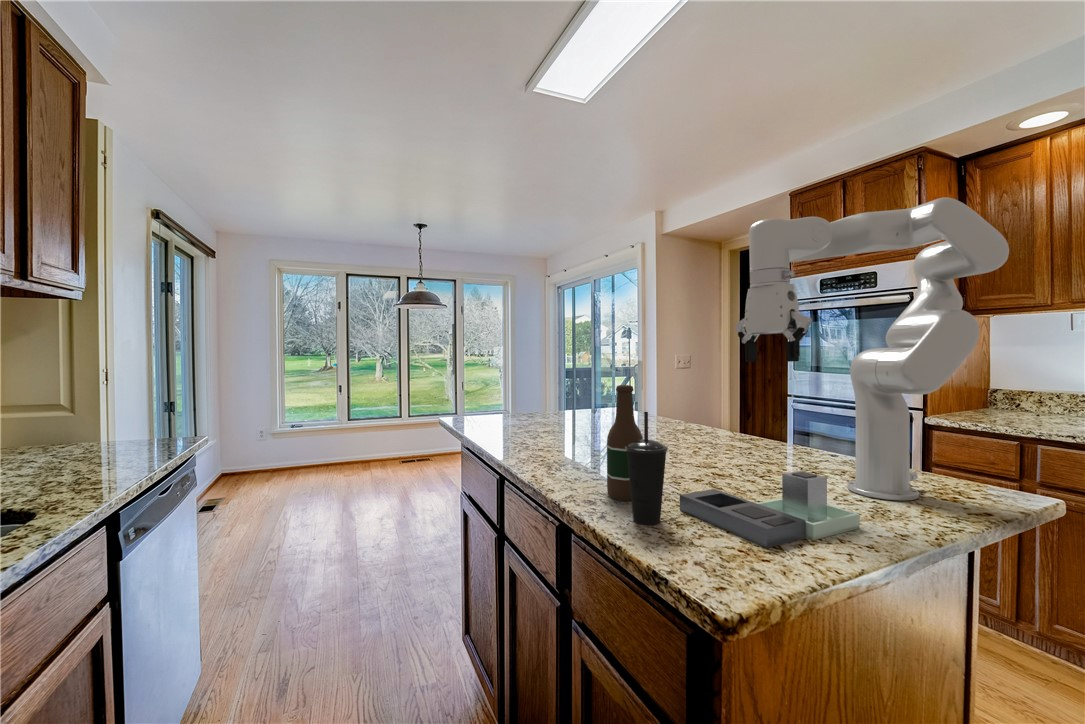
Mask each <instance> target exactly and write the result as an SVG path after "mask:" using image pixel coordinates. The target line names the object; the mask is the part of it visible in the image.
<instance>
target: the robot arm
mask: <svg viewBox="0 0 1085 724" xmlns="http://www.w3.org/2000/svg"><path fill="white" fill-rule="evenodd" d="M942 240H945V241H942ZM748 241H749V243H748V244H749V245H748V247H749V283H750V284H749V288H747V293H746V299H745V309H744V312H745V313H744V318H742V319H741V320H740V321H738V322H737V323H735V324H734V329H735V331H736V333H737V337H738V338H739V339H740V340H741V343H742V344H744V361H745V362H747V363H748V362H757V361H758V343H757V342H756V341H757V340H758V338H759V336H760V335H777V334H783V336H784V337H786V339H787V340H788V341H786V342H785V361H786V362H788V363H789V362H799V360H800V355H801V353H800V352H801V349H800V343H801V342H802V341H803V339H804V337H805V336H806V334H807V333H808V331H809V328H810V326H811V324H812V322H813V318H812V317H809V316H807V315H805V314H802V313H800V307H799V301H798V300H799V299H798V295H797V291H796V288H795V284H793V283H790V282H791V278H793V277H794V276H795V271H794V270H791V269H790V263H796V262H805V261H812V260H821V259H826V258H827V259H828V258H834V257H845V256H853V255H857V254H865V253H874V252H875V253H876V252H884V251H894V250H904V249H905V250H906V249H912V248H918V247H920V246H924V245H928V244H931V245H929V246H927V247H925V248H923V249H922V250H920V252H918V254H917V255H916V257H915V258H914V262H913V266H912V267H913V274H914V277H915V280H916V281H915V282H916V284H917V285H916V286H917V293H916V295H915V297H914V298H913V300H912V301H911V302H910V303H909V305H907V307H906V308H905V309H904V310H903V311H902V312H901V313H900V315H899V316H898V317H897V318H896V319H895V320H894V321H893V322H892V324H891V325H890V327H889V328H888V330H887V331H886V335H885V342H886V345H887V347H877V348H876V347H875V348H870V349H869V348H868V349H866V350H863V351H861V352H859V353H858V354H857V355H855V357H854V358H853V359H852V361H851V363H850V367H849V373H850V374H849V375H850V379H851V384H852V389H853V394H854V403H855V479H853V480H850V481H847V485H846V486H847V489H848V490H849V491H851V492H853V493H855V494H857V495H858V494H859V495H861V496H865V497H869V498H875V499H880V500H881V499H882V500H886V501H887V500H889V501H914V500H917V499H919V498H920V492H919V490H917V489H916V488H913V487H912V486H911V487H910V482H911V481H912V482H913V481H916V480H918V478H919V477H918V475H917V473H916V472H915V471H911V470H910V468H911V467H910V460H911V459H910V457H911V456H910V453H911V452H910V449H911V448H910V447H911V446H910V435H911V434H910V430H911V429H910V427H911V426H910V425H911V424H910V423H911V421H910V419H911V417H910V410H909V406H908V403H907V401H906V399H905V397H904V395H903V394H905V395H928V394H931V393H933V392H936V391H937V390H939V389H940V388H941V387H943V386H944V385H945V384H946V383H947V382H948V380H949V379H950V378H951V377H952V376H953V374H955V372H956V371H957V370H958V369H959V368H960V366H961V365H962V364H963V363H964V361H965V360H966V359H967V358H968V357H969V356H970V354H971V353H972V352H973V351H974V349H975V347H976V345H977V343H978V341H979V336H980V326H979V322H978V321H977V319H976V318H975V317H974V315H973V314H971V313H969V312H968V311H966V310H963V305H964V300H963V297H962V295H961V293H960V291H959V290H958V287H957V285H956V282H955V279H960V278H965V277H971V276H977V275H983V274H986V273H991V272H993V271H996V270H997V269H999V268H1001V267H1002V266H1004V265H1005V263H1006V262H1007V260H1008V259H1009V254H1010V247H1009V243H1008V241H1007V239H1006V238H1005V237H1004V236H1003V234H1002V233H1001V232H1000V231H999V230H998V229H996V228H995V227H994V226H993V225H992V224H991V223H989V222H988V221H987V220H986V219H984V218H983V217H982V216H981V215H980V214H979V213H977V212H976V211H975V210H974V209H972V208H971V207H969V206H968V205H966V204H965V203H964V202H961V201H960V200H958V199H956V198H953V197H952V198H951V197H946V196H945V197H940V198H936V199H933V200H930V201H928V202H923V203H922V204H919V205H917V206H913V207H909V208H905V209H904V208H903V209H893V210H892V209H891V210H879V211H866V212H861V213H856V214H852V215H849V216H846V217H843V218H840V219H837V220H834V221H831V222H829V220H827V219H825V218H822V217H819V216H807V217H800V218H792V219H784V218H777V217H776V218H767V219H762V220H759V221H757V222H754V223H753V224H752V225H751V226H750V227H749V230H748ZM939 241H941V242H939ZM936 242H938V243H936ZM932 243H933V244H932ZM934 243H935V244H934Z"/></svg>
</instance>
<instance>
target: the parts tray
mask: <svg viewBox="0 0 1085 724" xmlns="http://www.w3.org/2000/svg"><path fill="white" fill-rule="evenodd" d="M756 503H757V504H760V505H763V506H766V507H768V508H771V509H774V510H777V511H780V512H782V497H781V498H776V499H775V498H774V499H770V500H765V501H760V502H756ZM860 517H861V515H860V513H858V512H854V511H851V510H847V509H844V508H841V507H836V506H834V505H829V504H827V520H824V521H819V522H815V523H811V522H808V521H806V538H807V539H810V540H812V541H816V540H819V539H823V538H827V537H832V536H834V535H840V534H842V533H847V532H850V531H855V530H858V529H861V527H860V524H861V523H860V521H861V518H860Z"/></svg>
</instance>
